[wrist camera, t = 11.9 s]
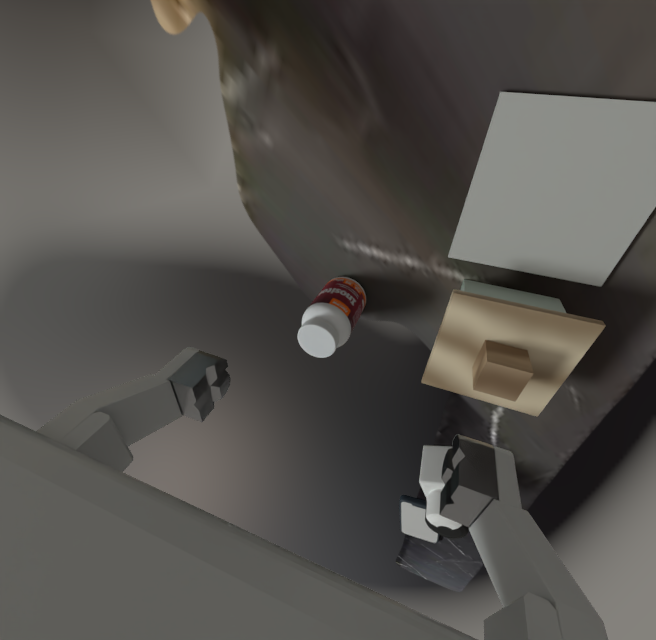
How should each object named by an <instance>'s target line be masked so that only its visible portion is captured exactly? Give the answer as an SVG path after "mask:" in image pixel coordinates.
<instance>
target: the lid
mask: <svg viewBox="0 0 656 640" xmlns="http://www.w3.org/2000/svg"><path fill="white" fill-rule="evenodd" d="M605 327H606V325H605V324H604V322H603V321H600V320H596V319H591V318H586V317H582V316H577V315H572V314H568V313H563V312H558V311H554V310H549V309H544V308H540V307H535V306H530V305H526V304H521V303H516V302H512V301H507V300H502V299H498V298H493V297H488V296H484V295H479V294H474V293H470V292H465V291H460V290H456V289H453V292H452V295H451V298H450V301H449V303H448V306H447V309H446V312H445V315H444V318H443V321H442V323H441V326H440V329H439V332H438V335H437V338H436V341H435V343H434V346H433V349H432V352H431V355H430V358H429V361H428V363H427V366H426V369H425V372H424V375H423V378H422V383H424V384H427V385H431V386H435V387H438V388H441V389H445V390H448V391H451V392H455V393H458V394H462V395H465V396H469V397H472V398H475V399H479V400H482V401H486V402H489V403H493V404H496V405H499V406H503V407H506V408H510V409H513V410H517V411H520V412H523V413H527V414H530V415H534V416H537V417H538V415H539V414H540V413H541V411H542V410H543V409H544V407H545V406H546V405H547V403H548V402H549V401H550V399H551V398H552V397H553V395H554V394H555V393H556V391H557V390H558V389H559V387H560V386H561V385H562V384H563V382H564V381H565V380H566V378H567V377H568V376H569V374H570V373H571V372H572V370H573V369H574V368H575V366H576V365H577V364H578V362H579V361H580V360H581V358H582V357H583V356H584V354H585V353H586V352H587V350H588V349H589V348H590V346H591V345H592V344H593V342H594V341H595V340H596V338H597V337H598V336H599V334H600V333H601V332H602V331H603V329H604V328H605Z"/></svg>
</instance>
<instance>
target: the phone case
mask: <svg viewBox="0 0 656 640" xmlns="http://www.w3.org/2000/svg"><path fill="white" fill-rule="evenodd" d="M426 502H427V501H425V500H421V499H418V498H414V497H410V496H407V495H402V496H401V497H400V505H399V511H400V530H401V532H402V533H404V534H407V535H410V536H413V537H416V538H419V539H423V540H426V541H429V542H432V543H438V541H439V534H437V533H436V532H434V531H433V530H431V529H430V528H429V527H428V525H427V524H426V522H425V512H426Z"/></svg>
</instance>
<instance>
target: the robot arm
mask: <svg viewBox="0 0 656 640" xmlns="http://www.w3.org/2000/svg"><path fill="white" fill-rule="evenodd" d="M227 367H228V364H227V360H226V359H223V358H220V357H218V356H215V355H212V354H209V353H206V352H204V351H201V350H198V349H195V348H192V347H188V348H186V349H184V350H183V351H182V352H181V353H179V354H178V355H177V356H176V357H175V358H174V359H173V360H172V361H170V362H169V363H168V364H167V365H166V366H165V367H163V368H162V369H161V370H160V371H159V372H158V373H157V374H155V375H152V374H150V375H147V376H145V377H142V378H139V379H136V380H133V381H130V382H127V383H125V384H122V385H119V386H116V387H113V388H111V389H107V390H105V391H102V392H99V393H96V394H93V395H90V396H88V397H85V398H82V399H79V400H77V401H76V402H74V403H73V404H71V405H70V406H69V407H67V408H66V409H65V410H64V411H62V412H61V413H60V414H58V415H57V416H56V417H54V418H53V419H52V420H50V421H49V422H48V423H46V424H45V425H44V426H42V427H41V428H40V429H39V430H37V431H34V430H32V429H30V428H28V427H25V426H24V425H21V424H19V423H17V422H15V421H13V420H11V419H9V418H6V417H4V416H2V415H0V640H477V639H475V638H473V637H471V636H469V635H466V634H464V633H462V632H460V631H458V630H456V629H454V628H452V627H449V626H447V625H445V624H443V623H441V622H439V621H437V620H435V619H433V618H430V617H428V616H426V615H424V614H422V613H420V612H418V611H416V610H413V609H411V608H409V607H407V606H405V605H403V604H401V603H398V602H397V601H394V600H392V599H390V598H388V597H386V596H384V595H382V594H379V593H377V592H375V591H373V590H371V589H369V588H367V587H365V586H363V585H360V584H358V583H356V582H354V581H352V580H350V579H348V578H346V577H344V576H341V575H339V574H337V573H335V572H333V571H331V570H329V569H326V568H324V567H322V566H320V565H318V564H316V563H314V562H312V561H310V560H307V559H305V558H303V557H301V556H299V555H297V554H295V553H293V552H290V551H288V550H286V549H284V548H282V547H280V546H278V545H276V544H274V543H271V542H269V541H267V540H265V539H263V538H261V537H259V536H257V535H255V534H252V533H250V532H248V531H246V530H244V529H241V528H240V527H238V526H235V525H233V524H231V523H229V522H227V521H225V520H223V519H221V518H218V517H216V516H214V515H212V514H210V513H208V512H205V511H204V510H201V509H199V508H197V507H195V506H193V505H191V504H189V503H187V502H185V501H182V500H180V499H178V498H176V497H174V496H172V495H170V494H168V493H166V492H163V491H161V490H159V489H157V488H155V487H153V486H151V485H149V484H146V483H144V482H142V481H140V480H138V479H136V478H134V477H132V476H129V475H127V474H125V473H123V471H124V470H125V469H126V468H127V467H128V466H129V464H130V463H131V462H132V461H133V455H132V453H131V452H130V450H129V448H128V446H130V445H131V444H133V443H135V442H137V441H139V440H140V439H142V438H144V437H146V436H148V435H149V434H151V433H153V432H155V431H157V430H158V429H160V428H162V427H164V426H166V425H168V424H169V423H171V422H173V421H175V420H177V419H178V418H180V417H182V415H184V416H186V417H189V418H192V419H195V420H198V421H200V422H203V421H204V419H205V418H206V417H207V416H208V415H209V413H210V412H211V411H212V410H213V409H214V402H215V401H218V400H220V399H222V398H223V396H224V395H225V394H226V392H227V390H228V388H229V386H230V375H229V374H228V372H227V371H226V370H225V369H226V368H227ZM441 479H442V481H443V482H444V484H445V486H444V488H443V489H442V491H441V493H440V514H439V515H441V516H443V517H445V518H448V519H450V520H453V521H455V522H457V523H460V524H462V525H464V526H467V527H469V531H470V533H471V535H472V537H473V540H474V542H475V544H476V547H477V549H478V551H479V553H480V556H481V558H482V560H483V562H484V565H485V567H486V569H487V572H488V574H489V576H490V578H491V581H492V583H493V585H494V587H495V590H496V592H497V594H498V596H499V599H500V601H501V603H502V606H503V608H502V609H501V610H499V611H498V612H496V613H494V614H493V615H491V616H489V617H488V618H487V619H485V620H484V640H608V638H607V634H606V630H605V627H604V623H603V621H602V619H601V618H600V616H599V615H598V613H597V612H596V611H595V609H594V608H593V607H592V605H591V603H590V602H589V600H588V599H587V597H586V596H585V595H584V593H583V592H582V590H581V589H580V587H579V586H578V584H577V583H576V581H575V580H574V579H573V577H572V575H571V574H570V573H569V571H568V570H567V568H566V567H565V565H564V564H563V562H562V561H561V559H560V558H559V556H558V555H557V554H556V552H555V551H554V549H553V548H552V546H551V545H550V543H549V542H548V540H547V539H546V538H545V536H544V535H543V533H542V532H541V530H540V529H539V527H538V526H537V524H536V523H535V521H534V520H533V519H532V517H531V516H530V514H529V513H528V511H525V510H523V509H522V507H521V501H520V494H519V488H518V481H517V474H516V468H515V461H514V456H513V454H512V452H510V451H507V450H504V449H501V448H498V447H495V446H492V445H490V444H487V443H484V442H480V441H477V440H474V439H471V438H468V437H464V436H461V435H458V434H457V435H456V436H455V438H454V439H453V445H452V448H450V449H448V451H447V453H446V455H445V458H444V461H443V466H442V476H441Z"/></svg>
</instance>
